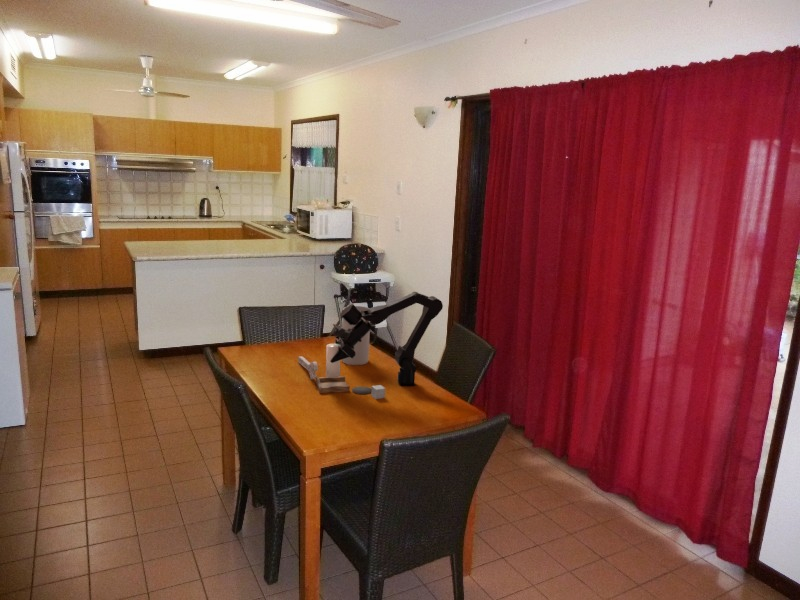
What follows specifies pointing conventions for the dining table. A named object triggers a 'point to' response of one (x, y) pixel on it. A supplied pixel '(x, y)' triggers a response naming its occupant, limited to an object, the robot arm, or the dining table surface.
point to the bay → (332, 384)
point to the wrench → (309, 366)
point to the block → (378, 392)
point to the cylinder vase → (358, 344)
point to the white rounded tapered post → (334, 367)
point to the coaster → (362, 390)
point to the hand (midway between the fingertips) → (329, 359)
